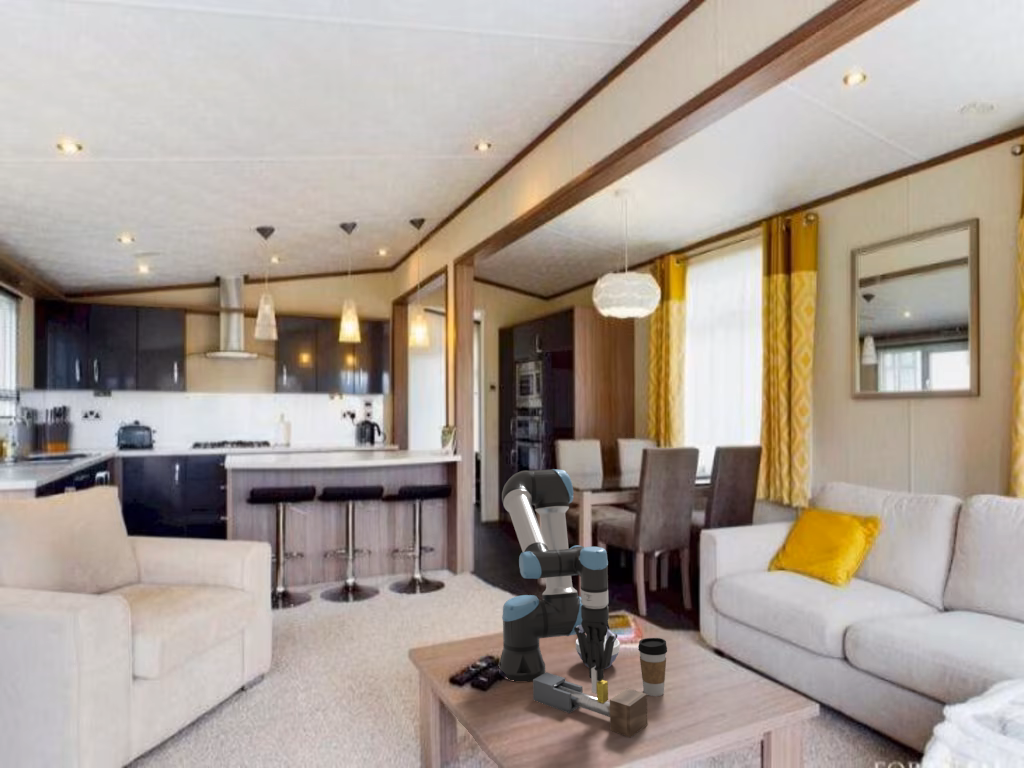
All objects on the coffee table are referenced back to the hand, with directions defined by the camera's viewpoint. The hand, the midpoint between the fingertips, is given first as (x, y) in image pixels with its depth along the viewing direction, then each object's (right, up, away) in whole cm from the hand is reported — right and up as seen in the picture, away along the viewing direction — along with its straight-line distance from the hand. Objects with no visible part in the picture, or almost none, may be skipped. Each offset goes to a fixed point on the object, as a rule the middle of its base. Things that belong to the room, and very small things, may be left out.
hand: (596, 691), depth 181 cm
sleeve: (-10, -7, +8) cm, 15 cm away
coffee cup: (+19, -7, +14) cm, 25 cm away
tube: (-2, -7, +2) cm, 8 cm away
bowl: (+5, -8, +35) cm, 36 cm away
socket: (+7, -7, -6) cm, 11 cm away
